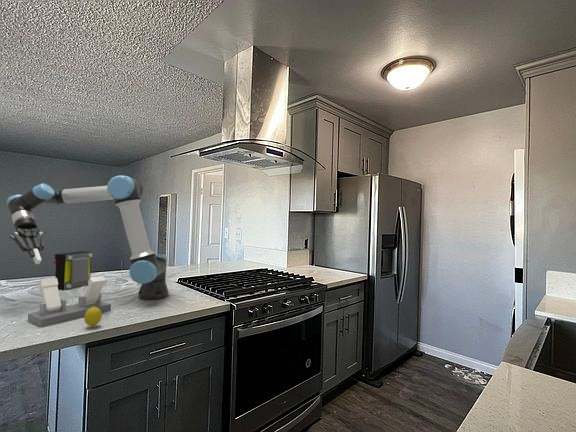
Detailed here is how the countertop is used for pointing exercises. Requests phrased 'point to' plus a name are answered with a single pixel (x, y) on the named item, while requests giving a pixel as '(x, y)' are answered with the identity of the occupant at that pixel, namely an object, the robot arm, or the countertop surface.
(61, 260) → the electrical component
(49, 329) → the countertop surface
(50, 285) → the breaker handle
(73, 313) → the block
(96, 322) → the lemon
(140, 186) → the robot arm
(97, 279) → the lever
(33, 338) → the countertop surface
